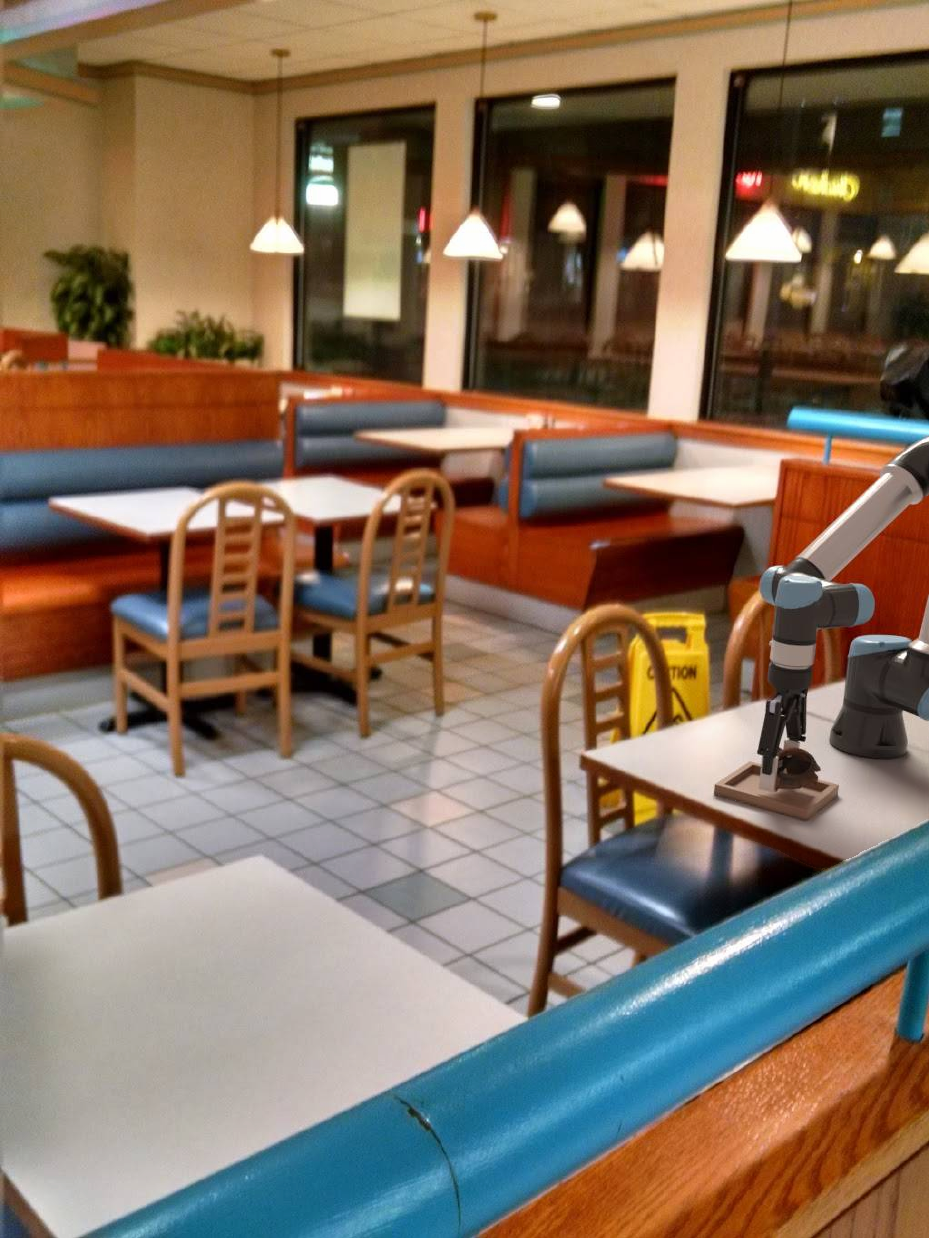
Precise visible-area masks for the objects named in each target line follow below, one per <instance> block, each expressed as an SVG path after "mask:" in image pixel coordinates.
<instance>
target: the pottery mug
mask: <svg viewBox="0 0 929 1238" xmlns="http://www.w3.org/2000/svg"><path fill="white" fill-rule="evenodd" d="M790 755H792V756H791V757H787V756H790ZM777 757H779V758H778V767H777V776H776V784H775V791H776V792H777V791H778V789H800V788H801V786H803V787H805V786H807V785H809V784H810V783H812V782H813V783H814V785H817V783H818V779H819V775H818V774H817V773H818V772H821V771H822V769H821V766H819V764H818V763H817V761H816V759H815V757H814V756H813V754H811V753H810V752H809V751H807V750H805V749H803V748H800V747H799V748H787V749H784V750H783V748H782V747H780V746H779V749H778V752H777ZM785 768H786V770H787V774H786V773H784V772H783V771H784V770H785Z"/></svg>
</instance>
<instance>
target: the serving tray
mask: <svg viewBox="0 0 929 1238" xmlns="http://www.w3.org/2000/svg"><path fill="white" fill-rule="evenodd" d="M760 773H761V763H757V762H755V761H750V760H749V761H748V762H746V763H745V764H743V765H741V766H740V767H738V769H735V770H733V772H731V773H729V774H728V775H727V776H725V777H724V778H722V779H721V780H719V781H717V782H716V783H714V786H713V787H714V788H713V795H714V794H715V795H714V796H717V795H719V796H718V797H721V796H722V797H721V798H723V799H724V798H725V799H727V800H730V801H731V800H732V801H735V800H736V801H735V802H738V801H739V802H738V803H741V802H743V804H745V803H746V804H745V805H748V804H749V805H748V806H752V807H756V808H760V809H763V810H767V811H769V812H773V813H776V812H777V814H781V815H784V816H787V817H791V818H794V819H798V820H801V821H805V822H807V821H809V820H810V819H811V818H812V817H813V816H815V815H816V814H817V813H818V812H819V811H820V810H822V809H823V808H824V807H826V805H828V803H830V802H831V801H833V800H834V799H835V798H837V796H838V795H839V790H840V788H839V787H840V785H839V784H836V783H833V782H829V781H826V780H821V779H819V778H818V783H817V785H814V783H813V782H812V783H810V784H809V785H807V786H805V787H803V786H801V788H800V789H778V791H777V792H776V791H775V792H769V791H766V790H762V789H759V782H760Z"/></svg>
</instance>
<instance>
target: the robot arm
mask: <svg viewBox="0 0 929 1238" xmlns="http://www.w3.org/2000/svg"><path fill="white" fill-rule="evenodd" d="M879 475H880V476H879V478H877V480H875V482H874V483H872V485H870V487H868V488H867V489H866V490H865V491H864V492H863V493H862V494H861V495H860V496H859V497H858V498H857V499H855V501H854V502H853V503H852V504H850V506H849V507H847V509H845V510H844V511H843V512H842V513H841V514H840V515H839V516H838V517H837V518H836V519H835V520H833V521H832V522H831V524H830V525H828V527H826V528H825V530H823V532H821V534H820V535H818V536H816V538H815V539H814V540H813V541H812V542H811V543H810V544H809V545H808V546H806V548H804V549H803V551H802V552H801V553H799V554H798V555H797V556H796V557H795V559H793V560H792V561H791V562H790V563H789V564H788V565H787V566H785V565H774V566H771V567H768V568H767V569H766V570H765V571H764V573H763V574H762V576H761V577H760V580H759V586H758V588H759V593H760V595H761V598H762V599H763V600H764V601H765V602H766V603H768V604H770V605H772V606H774V614H773V615H774V616H773V626H772V633H771V635H772V636H771V640H770V641H769V643H768V646H770V647H771V648H770V655H769V659H770V660H771V661H770V662H769V664H768V669H767V670H768V672H767V679H766V681H767V682H768V684H770V685H771V686H773V687H774V688H775V690H774V691H775V692H774V694H773V696H772V699H767V700H766V701H765V709H764V712H765V713H764V718H763V722H762V728H761V733H760V736H759V737H760V738H759V742H758V747H757V750H756V753H757V755H759V756H761V763H760V764H761V773H760V782H759V789H762V790H766V791H769V792H775V784H776V776H777V767H778V758H779V757H777V752H778V749H779V747H780V746H781V745H780V744H781V742H782V738H783V734H784V730H786V738H785V739H784V740H783V748H782V749H783V750H784V749H787V748H799V749H800V746H801V745H800V744H801V742H803V743H805V741H806V740H807V736H805V735H806V733H807V707H808V706H807V704H808V702H807V701H808V699H807V698H808V692H809V688H810V687H811V685H812V679H813V678H812V676H813V667H812V665H813V664H814V663H815V656H816V655H815V654H816V647H817V637H818V630H824V629H835V628H845V627H848V628H852V627H854V626H859V625H863V624H865V623H867V622H869V621H870V620H871V618H872V617H873V615H874V611H875V605H876V603H875V598H874V595H873V593H872V590H870V588H869V587H868V586H866V585H864V584H861V583H852V582H849V583H846V584H844V583H838V582H835V581H832V579H834V578H835V577H836V576H837V575H838V574H839V573H840V572H841V571H842V570H843V569H844V568H845V567H846V566H847V565H848V564H849V563H850V562H851V561H852V560H854V558H855V557H857V556H858V554H860V553H861V552H862V551H863V550H864V549H865V548H866V547H867V546H868V545H869V544H870V543H871V542H872V541H873V540H874V539H875V538H876V537H877V536H878V535H879V534H880V533H881V532H883V531H884V529H886V528H887V527H888V526H889V524H890V523H892V522H893V521H894V520H895V519H896V518H897V517H898V516H899V515H900V514H901V513H902V512H903V511H905V509H907V507H909V505H917V504H919V503H920V502H921V501H922V500H923V499H924V498H925V497H927V496H929V435H926V436H925V437H923V438H920V439H919V440H917V441H914V443H912V444H910V445H908V446H907V447H905V448H904V449H903V450H900V452H899V453H897V454H896V455H895V456H894V457H893V458H892V459H890V460H889V461H888V462H887V463H886V464H885V465H884V466H883V467H882V468H881V469H880V472H879ZM920 627H921V628H920V632H919V636H918V637H917V638H916V639H914V640H913V641H912V639H911V638H909V637H907V636H906V637H904V636H900V635H899V636H898V635H891V634H890V635H888V634H867V635H866V634H865V635H860V636H857V637H855V638H854V639H853V640H852V641H851V643H850V646H849V653H848V655H847V663H846V664H847V665H846V672H845V673H846V675H845V681H844V682H845V684H844V692H843V702H842V706H841V708H840V710H839V712H838V714H837V716H836V719H835V720H834V722H833V724H832V726H831V728H830V733H829V739H828V741H829V743H830V745H832V746H833V747H834V748H835V749H837V750H840V751H842V752H845V753H848V754H851V755H854V756H859V757H863V758H864V757H865V758H871V759H895V758H896V759H897V758H900V757H902V756H904V755H906V754H907V750H908V745H909V744H908V743H909V741H908V734H907V731H906V725H905V720H904V714H903V712H906V713H908V714H911V715H914V716H916V717H919V718H920V719H921V720H923V721H926V722H929V595H928V597H927V601H926V606H925V610H924V614H923V618H922V623H921V626H920ZM791 756H792V755H790V756H787V757H791ZM783 772H784V773H786V774H787V770H786V768H785V770H784V771H783Z"/></svg>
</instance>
